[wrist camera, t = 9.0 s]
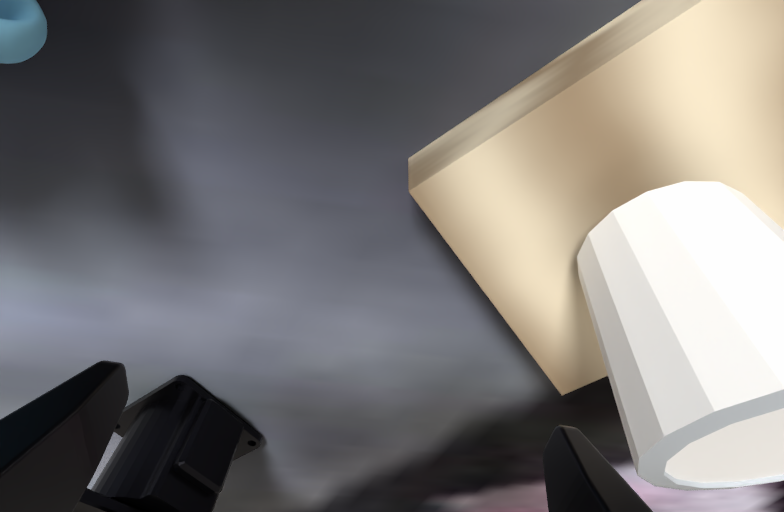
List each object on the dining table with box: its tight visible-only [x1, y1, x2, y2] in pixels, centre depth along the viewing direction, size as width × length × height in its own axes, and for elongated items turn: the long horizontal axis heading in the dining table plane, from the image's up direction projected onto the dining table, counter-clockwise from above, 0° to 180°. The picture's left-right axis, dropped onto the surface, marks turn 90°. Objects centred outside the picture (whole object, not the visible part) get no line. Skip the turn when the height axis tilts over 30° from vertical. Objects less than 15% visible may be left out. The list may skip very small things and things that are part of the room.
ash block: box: [408, 0, 784, 395], centre depth 19 cm, size 12×12×4 cm
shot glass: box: [577, 181, 784, 490], centre depth 14 cm, size 7×7×7 cm
